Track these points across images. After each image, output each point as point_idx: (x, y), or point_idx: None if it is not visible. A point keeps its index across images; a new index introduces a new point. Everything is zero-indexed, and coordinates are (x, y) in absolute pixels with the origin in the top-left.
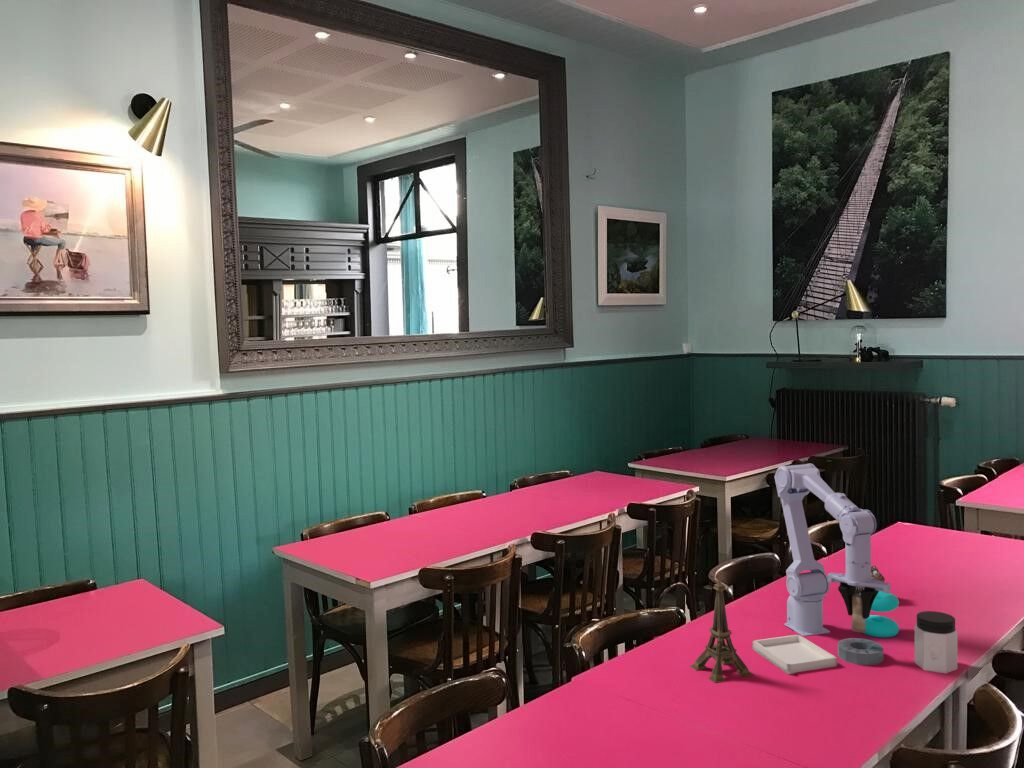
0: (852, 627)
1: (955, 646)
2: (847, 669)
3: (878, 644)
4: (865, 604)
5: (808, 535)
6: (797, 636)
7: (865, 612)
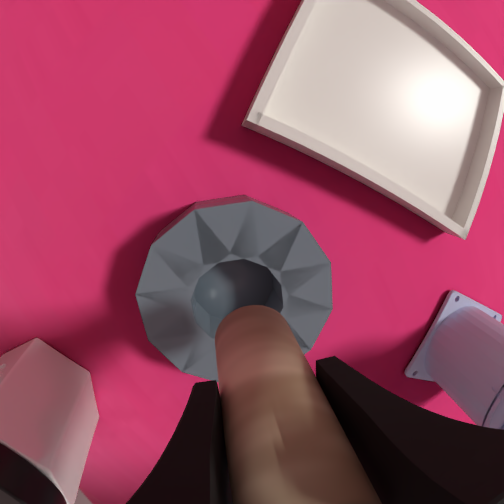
0: (282, 320)
1: None
2: (199, 137)
3: (194, 369)
4: (169, 473)
5: None
6: (461, 227)
7: (184, 414)
